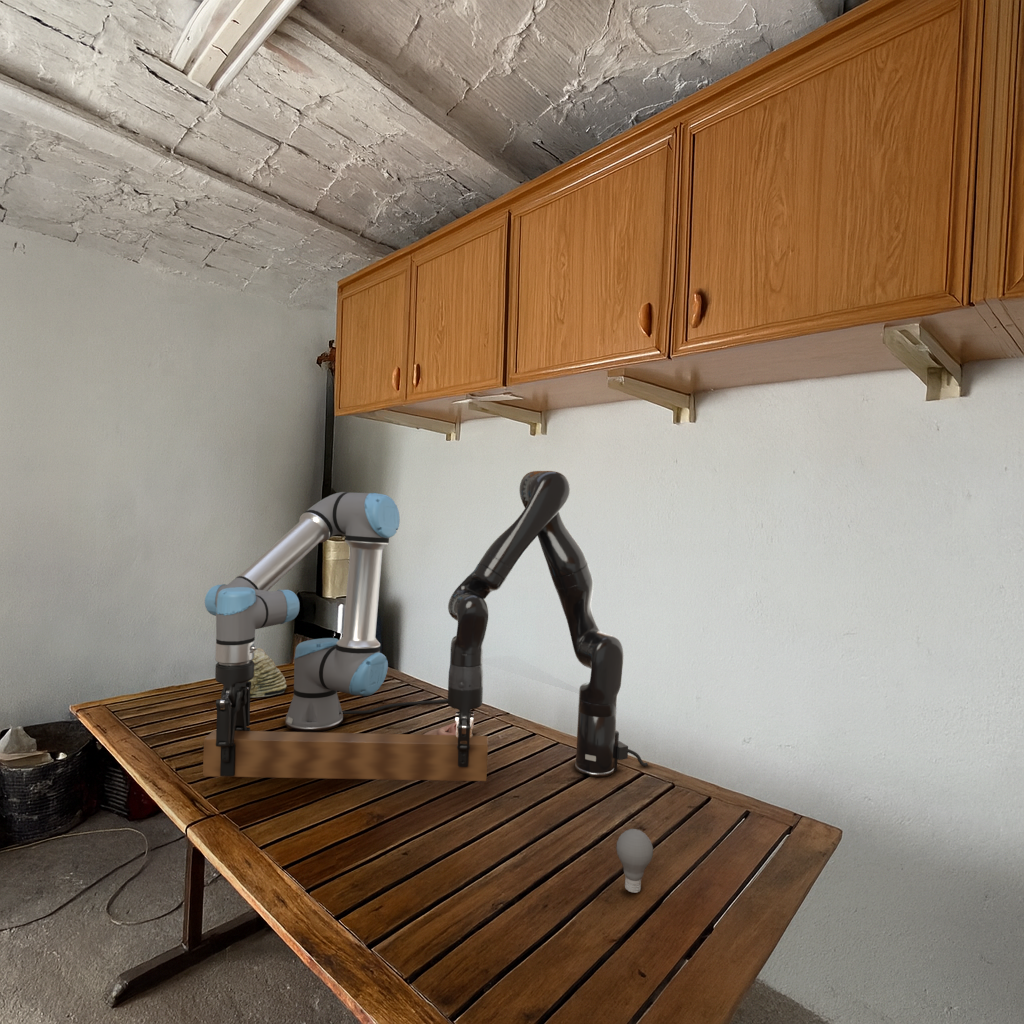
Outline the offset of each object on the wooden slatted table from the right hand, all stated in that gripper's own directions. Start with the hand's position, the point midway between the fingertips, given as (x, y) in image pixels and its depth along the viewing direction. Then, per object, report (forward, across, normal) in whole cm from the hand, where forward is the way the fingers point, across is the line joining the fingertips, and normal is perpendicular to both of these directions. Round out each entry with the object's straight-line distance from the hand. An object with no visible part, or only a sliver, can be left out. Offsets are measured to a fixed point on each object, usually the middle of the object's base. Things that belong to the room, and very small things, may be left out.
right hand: (463, 760), depth 138 cm
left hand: (+2, 0, +49) cm, 49 cm away
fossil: (+7, +64, +66) cm, 92 cm away
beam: (+3, 0, +24) cm, 25 cm away
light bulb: (+7, -34, -29) cm, 45 cm away
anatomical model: (+8, +32, +5) cm, 33 cm away
